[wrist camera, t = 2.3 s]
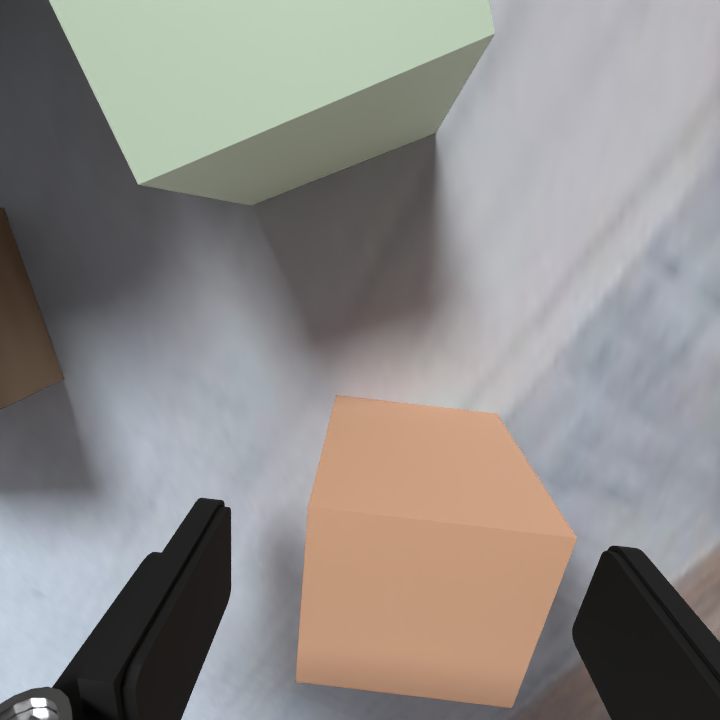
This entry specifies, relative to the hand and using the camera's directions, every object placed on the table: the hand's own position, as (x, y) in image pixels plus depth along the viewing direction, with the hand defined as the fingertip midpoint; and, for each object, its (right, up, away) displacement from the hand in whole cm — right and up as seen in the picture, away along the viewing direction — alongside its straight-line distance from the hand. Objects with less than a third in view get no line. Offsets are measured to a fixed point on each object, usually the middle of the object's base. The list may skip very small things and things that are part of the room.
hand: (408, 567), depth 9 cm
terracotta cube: (0, +2, +3) cm, 3 cm away
